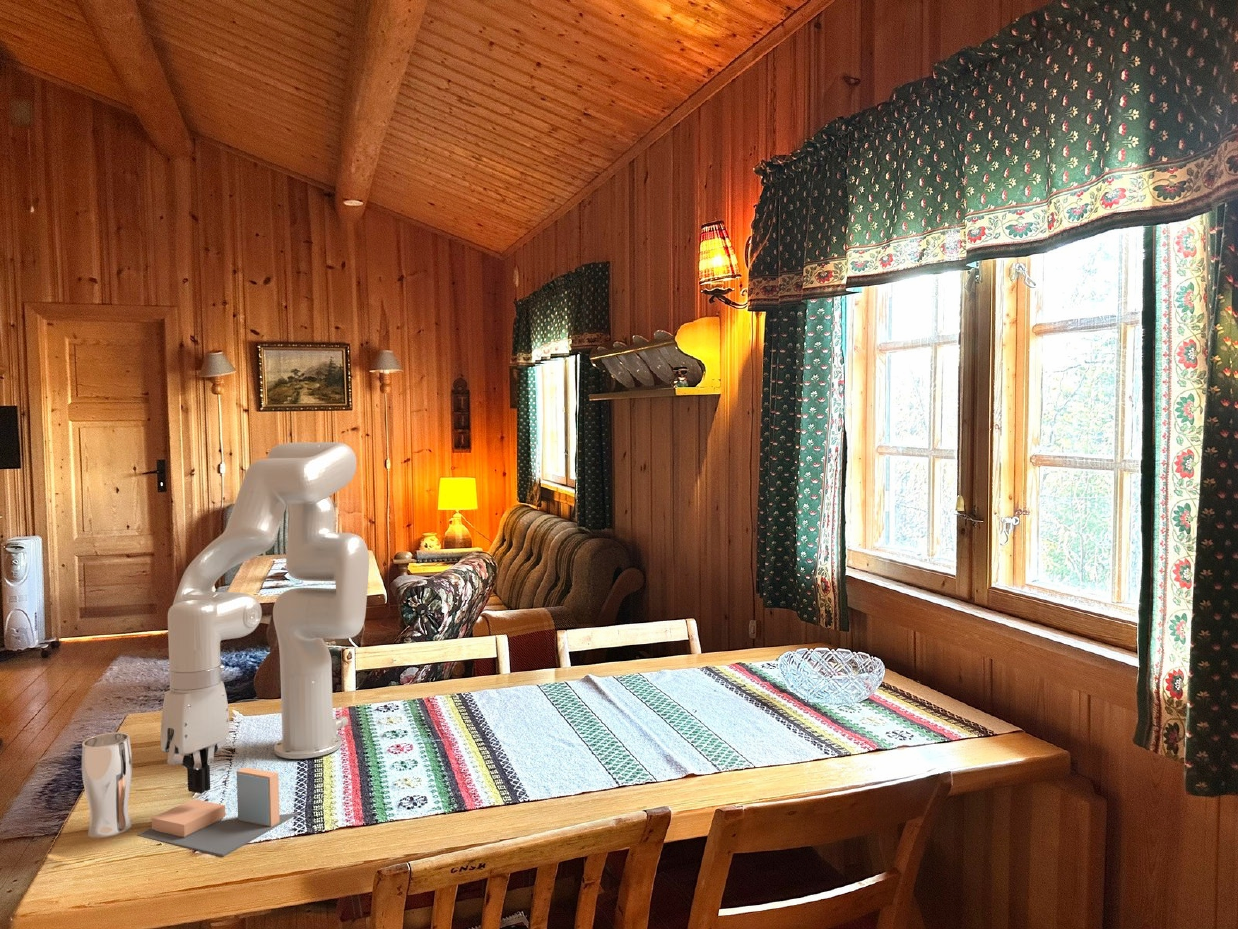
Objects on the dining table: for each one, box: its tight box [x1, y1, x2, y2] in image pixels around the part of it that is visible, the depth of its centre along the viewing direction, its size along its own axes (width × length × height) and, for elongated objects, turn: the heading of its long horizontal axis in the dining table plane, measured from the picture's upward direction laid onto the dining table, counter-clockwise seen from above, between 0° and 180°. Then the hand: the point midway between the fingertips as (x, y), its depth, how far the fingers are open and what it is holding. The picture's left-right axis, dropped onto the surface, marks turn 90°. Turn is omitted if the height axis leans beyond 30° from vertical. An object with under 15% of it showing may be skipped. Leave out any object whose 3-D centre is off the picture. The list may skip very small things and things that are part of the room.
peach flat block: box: [236, 766, 281, 827], centre depth 148 cm, size 2×7×8 cm, turn 66°
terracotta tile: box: [151, 798, 226, 837], centre depth 148 cm, size 2×7×8 cm
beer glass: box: [81, 731, 133, 838], centre depth 146 cm, size 7×7×15 cm
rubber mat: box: [137, 812, 300, 858], centre depth 149 cm, size 18×18×1 cm
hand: (199, 790), depth 149 cm, fingers closed
